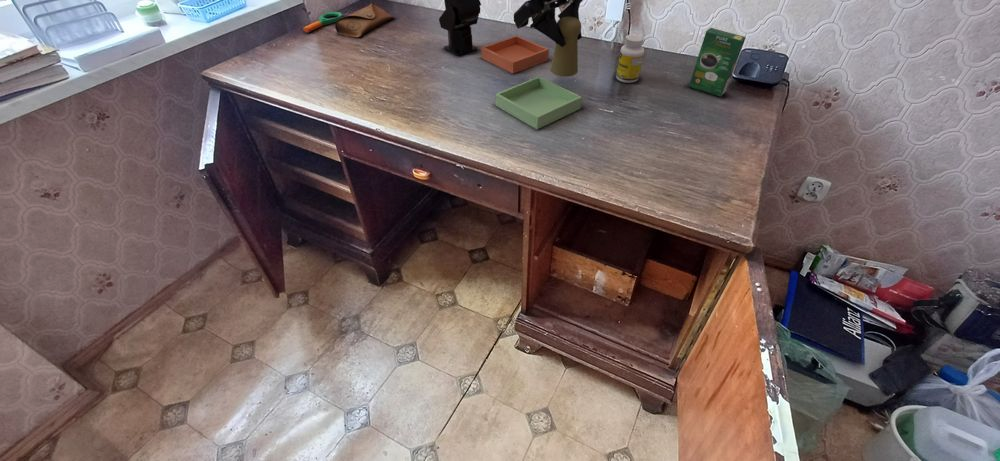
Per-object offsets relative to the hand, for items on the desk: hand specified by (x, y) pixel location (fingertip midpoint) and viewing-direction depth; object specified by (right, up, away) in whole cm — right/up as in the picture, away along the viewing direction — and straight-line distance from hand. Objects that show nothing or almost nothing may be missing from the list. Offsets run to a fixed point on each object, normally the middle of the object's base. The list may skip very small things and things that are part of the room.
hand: (572, 42), depth 97 cm
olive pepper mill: (-1, -4, +5) cm, 7 cm away
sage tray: (-7, -12, +5) cm, 15 cm away
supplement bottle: (+16, -3, +15) cm, 22 cm away
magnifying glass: (-68, +22, +41) cm, 82 cm away
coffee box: (+33, -7, +10) cm, 35 cm away
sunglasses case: (-54, +21, +41) cm, 71 cm away
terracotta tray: (-11, +5, +23) cm, 26 cm away
